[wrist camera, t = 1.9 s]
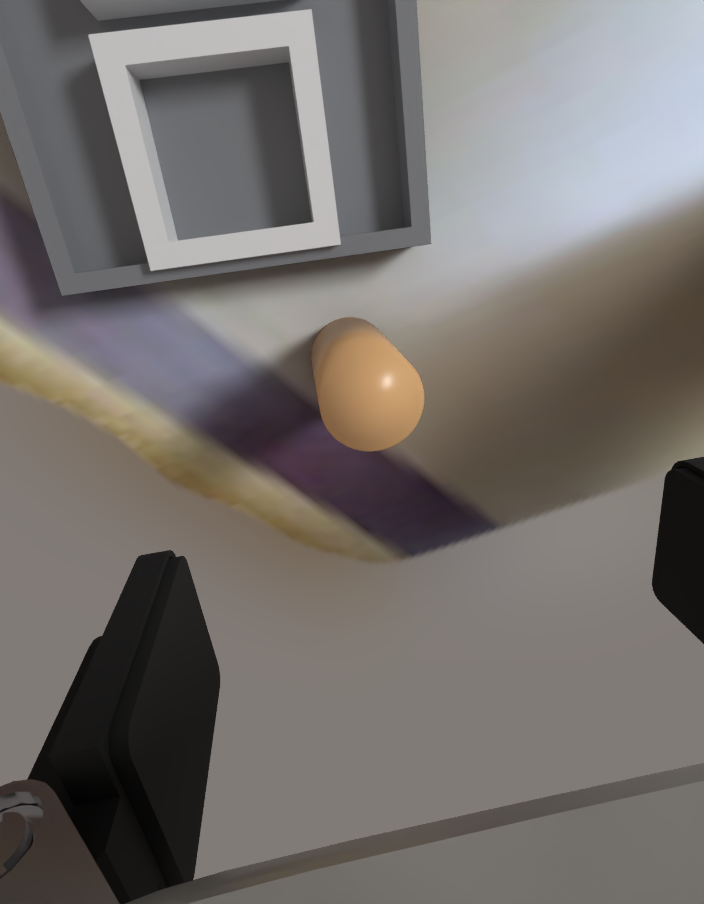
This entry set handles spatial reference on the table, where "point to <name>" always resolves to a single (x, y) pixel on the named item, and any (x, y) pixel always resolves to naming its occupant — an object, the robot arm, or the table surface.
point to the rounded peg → (364, 386)
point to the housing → (214, 133)
